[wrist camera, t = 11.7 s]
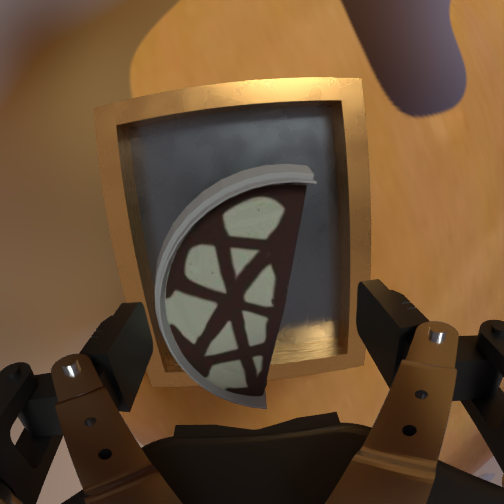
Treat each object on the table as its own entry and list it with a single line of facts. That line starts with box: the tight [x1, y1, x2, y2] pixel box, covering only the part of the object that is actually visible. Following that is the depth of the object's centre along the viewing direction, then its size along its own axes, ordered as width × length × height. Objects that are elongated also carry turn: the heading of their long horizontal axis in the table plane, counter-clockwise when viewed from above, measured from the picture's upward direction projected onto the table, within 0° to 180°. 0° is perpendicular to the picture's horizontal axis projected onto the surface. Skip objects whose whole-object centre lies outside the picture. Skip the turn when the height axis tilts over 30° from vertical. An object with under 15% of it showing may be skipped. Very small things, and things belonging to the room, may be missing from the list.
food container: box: [155, 164, 317, 409], centre depth 18 cm, size 12×6×10 cm, turn 171°
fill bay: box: [94, 78, 371, 387], centre depth 22 cm, size 17×21×4 cm
